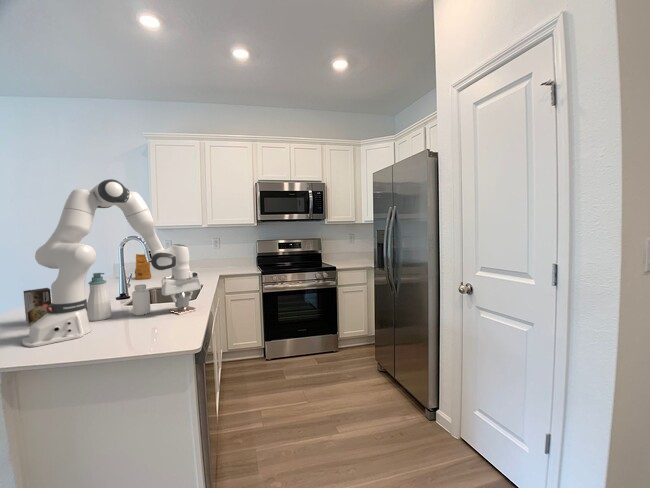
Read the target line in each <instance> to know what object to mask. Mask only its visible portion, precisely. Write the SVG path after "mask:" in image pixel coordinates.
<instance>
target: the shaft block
mask: <svg viewBox="0 0 650 488" xmlns="http://www.w3.org/2000/svg"><path fill="white" fill-rule="evenodd" d="M178 294H179V295H178V296H179V297H185V295H186V292H182V293H178ZM194 309H196V307H193V306H189V305H188V306H186V307H175V308H171V309H170V310H169V312H170V311H174V312H178V313H181V312H185V311H189V310H194Z"/></svg>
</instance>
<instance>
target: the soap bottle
mask: <svg viewBox="0 0 650 488" xmlns="http://www.w3.org/2000/svg"><path fill="white" fill-rule="evenodd" d="M92 275H93V276H92V277H91V281H89V282H88V284H89V294H88V298H87V299H88V300H87V307H88V309H87V316H88V320H89V322H96V321H97V322H99V321H103V320H104V321H105V320H107V319H109V318H111V317H112V304H111V300H110V296H109V294H108V292H107V287H106V286H107V280H104V277H103V276H102V275H105V272H94V273H93V274H92Z"/></svg>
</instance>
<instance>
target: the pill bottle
mask: <svg viewBox="0 0 650 488" xmlns="http://www.w3.org/2000/svg"><path fill="white" fill-rule="evenodd" d="M133 288H134V290H133V292H132V294H131V297H132V298H131V299H132V314H133V315H134V316H145V315H148V314H150V313H151V296H150V295H151V294H150V290H148V289H147V284H136V285H134V286H133ZM149 312H150V313H149ZM147 313H148V314H147ZM144 314H145V315H144Z"/></svg>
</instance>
